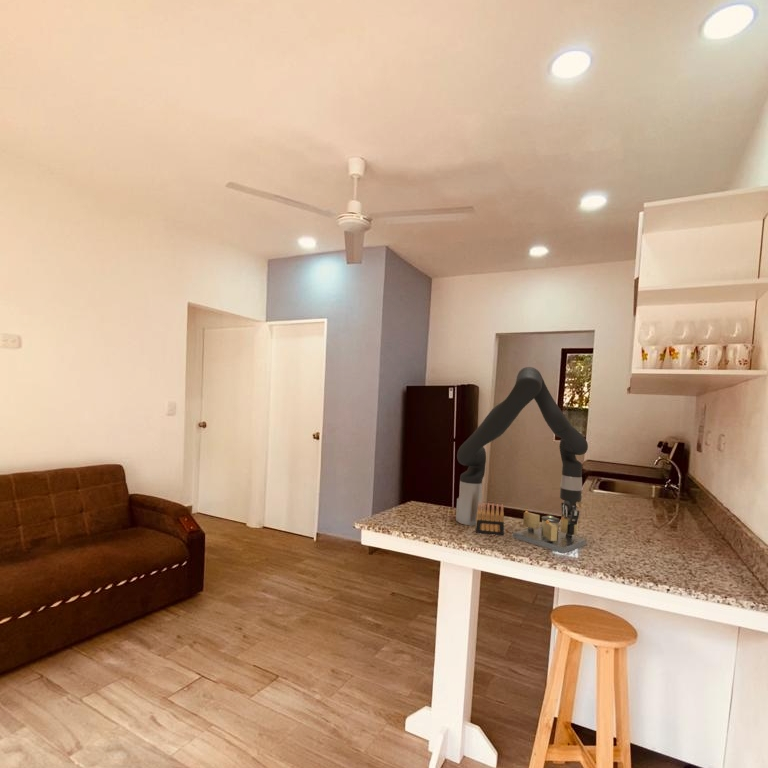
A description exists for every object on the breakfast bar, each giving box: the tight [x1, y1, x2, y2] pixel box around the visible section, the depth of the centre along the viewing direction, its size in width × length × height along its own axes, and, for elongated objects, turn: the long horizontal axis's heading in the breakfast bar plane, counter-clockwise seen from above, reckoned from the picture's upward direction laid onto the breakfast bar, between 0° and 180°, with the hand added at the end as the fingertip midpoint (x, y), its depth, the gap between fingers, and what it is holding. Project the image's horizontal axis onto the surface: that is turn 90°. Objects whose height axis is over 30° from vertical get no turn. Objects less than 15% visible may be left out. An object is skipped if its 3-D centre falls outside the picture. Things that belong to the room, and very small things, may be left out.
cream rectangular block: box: [560, 516, 579, 537], centre depth 167 cm, size 2×6×7 cm, turn 60°
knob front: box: [543, 520, 557, 543], centre depth 159 cm, size 2×6×7 cm, turn 7°
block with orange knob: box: [522, 510, 541, 531], centre depth 172 cm, size 2×6×7 cm, turn 41°
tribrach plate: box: [512, 515, 588, 554], centre depth 166 cm, size 20×18×9 cm
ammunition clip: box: [475, 501, 505, 536], centre depth 171 cm, size 11×2×12 cm, turn 86°
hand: (568, 532), depth 167 cm, fingers closed on cream rectangular block, 3 cm apart
